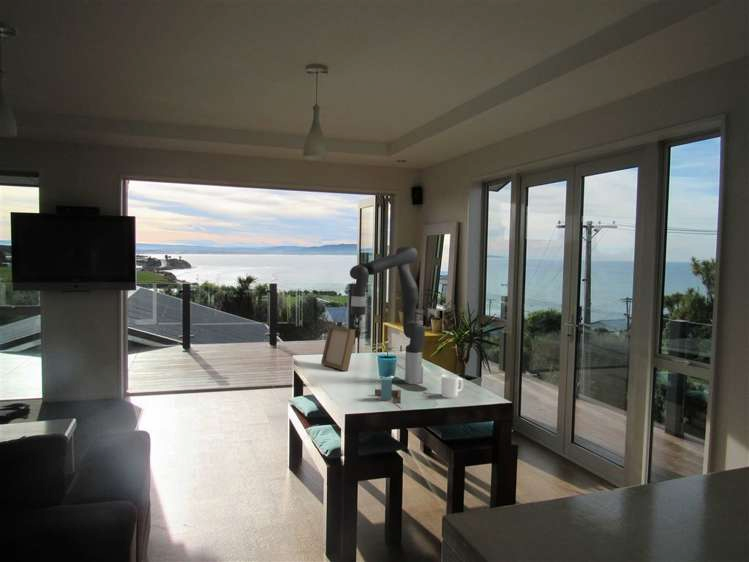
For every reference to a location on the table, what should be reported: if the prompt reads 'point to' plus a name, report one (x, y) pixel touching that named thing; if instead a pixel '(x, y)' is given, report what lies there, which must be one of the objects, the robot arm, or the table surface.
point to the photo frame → (338, 347)
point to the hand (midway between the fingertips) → (357, 336)
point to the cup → (450, 386)
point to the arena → (394, 393)
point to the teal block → (386, 388)
